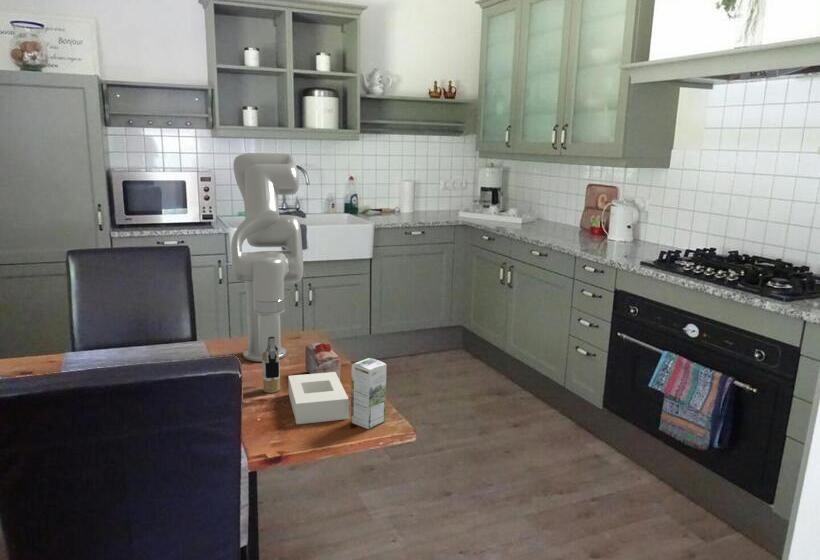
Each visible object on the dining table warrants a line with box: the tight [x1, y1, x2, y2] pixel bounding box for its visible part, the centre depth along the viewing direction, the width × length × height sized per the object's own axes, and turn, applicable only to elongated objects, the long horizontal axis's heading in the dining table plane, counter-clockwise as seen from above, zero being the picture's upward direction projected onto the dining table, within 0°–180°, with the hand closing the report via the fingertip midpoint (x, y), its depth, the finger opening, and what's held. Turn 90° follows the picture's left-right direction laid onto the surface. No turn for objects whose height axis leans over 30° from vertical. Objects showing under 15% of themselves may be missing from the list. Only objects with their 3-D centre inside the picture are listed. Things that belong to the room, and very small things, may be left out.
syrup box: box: [350, 357, 388, 430], centre depth 140 cm, size 6×6×14 cm
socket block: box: [287, 372, 350, 425], centre depth 149 cm, size 18×12×5 cm, turn 16°
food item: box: [304, 342, 342, 381], centre depth 167 cm, size 14×8×10 cm, turn 26°
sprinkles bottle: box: [261, 338, 281, 394], centre depth 158 cm, size 5×5×13 cm
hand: (271, 371), depth 157 cm, fingers open, 9 cm apart
